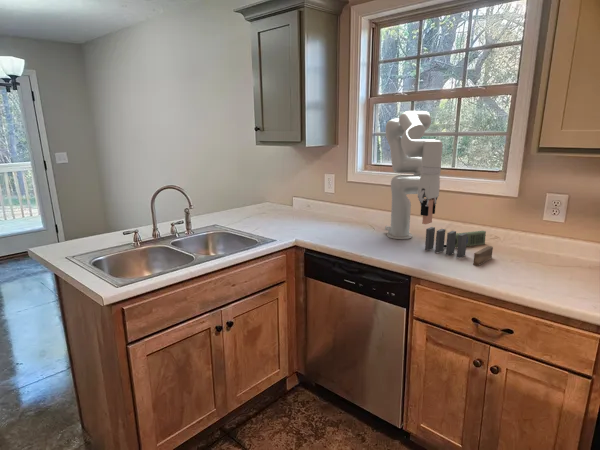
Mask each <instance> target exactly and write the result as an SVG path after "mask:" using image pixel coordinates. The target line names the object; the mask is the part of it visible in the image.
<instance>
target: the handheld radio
mask: <svg viewBox="0 0 600 450" xmlns="http://www.w3.org/2000/svg"><path fill="white" fill-rule="evenodd" d="M462 233H463V232H456V239H455V249H457V247H458V236H459V235H460V234H462ZM464 233H467V243H466V247H472V246H473V247H474V246H481V245H486V234H487V231H486V230H476V231H467V232H464ZM444 249H446V244H444Z"/></svg>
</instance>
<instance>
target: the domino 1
mask: <svg viewBox="0 0 600 450" xmlns="http://www.w3.org/2000/svg"><path fill="white" fill-rule="evenodd" d="M424 201H425V202H426V200H424ZM433 201H434V199H429V203H428V206H429V210H428V216H423V215H422V224H423V225H428V224H432V223H433V214H432V212H433Z"/></svg>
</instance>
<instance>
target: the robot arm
mask: <svg viewBox="0 0 600 450" xmlns="http://www.w3.org/2000/svg"><path fill="white" fill-rule="evenodd" d="M431 125H432V118H431V114H430V113H429V112H428V111H425V110H407V111H404V112H402V113H401V114H400V115H399V118H392V119H390V120H388V121H386V124H385V137H386V140H387V143H388V145H389V147H390V148H389V149H390V159H391V168H392V171H393V172H394V173H395V174H398V175H395V176H393V177H392V179H391V180H390V191H391V210H390V211H391V213H390V226H389V225H385V226H384V231H388V232H387V234H386V236H387V237H388V238H390V239H392V240H393V239H394V240H410V239H412V238H413V234H412V233H411V232H410V225H411V212H412V211H411V210H412V209H411V208H412V202H411V200H410V199H409V197H408V196H407V195H417V198H418V201H419V203H420V215H421V216H422V217H423V216H428V210H429V206H428V203H429V199H434V201H433V212H432V215H435V214H436V207H437V206H436V204H437V200H438V199H439V196H440V187H441V186H440V185H441V179H440V178H441V177H440V176H441V169H442V159H443V158H442V157H443V147H444V146H443V142H442V140H439V139H438V140H437V139H434V138H422V137H423V136H424V135H425V132H426V131H427V130H428V129H429V128H430V127H431ZM421 138H422V139H421ZM424 200H426V202H425V201H424Z"/></svg>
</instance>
